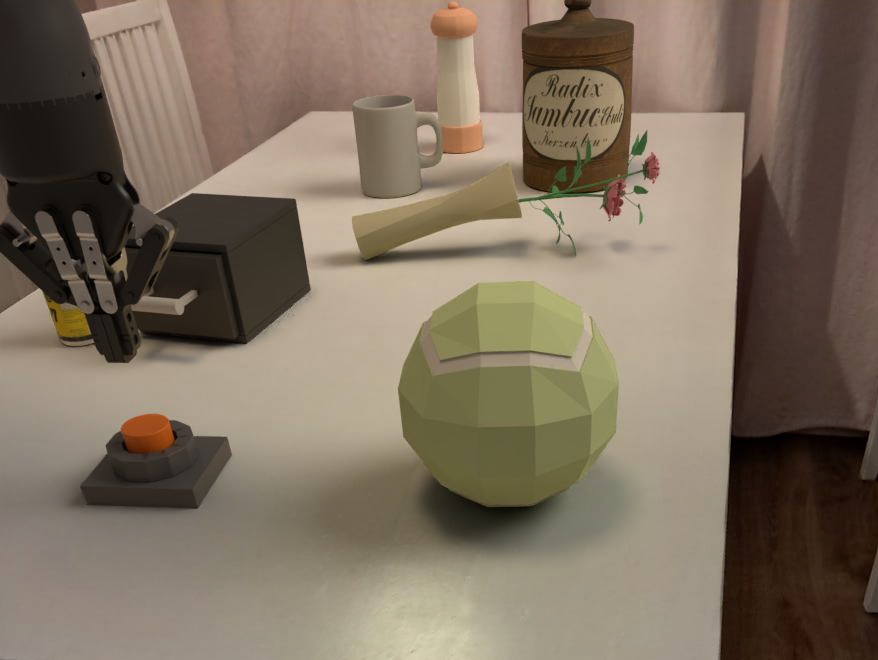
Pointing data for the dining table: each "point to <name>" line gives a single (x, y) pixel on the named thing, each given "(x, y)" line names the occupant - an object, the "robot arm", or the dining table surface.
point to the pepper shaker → (457, 79)
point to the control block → (158, 472)
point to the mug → (392, 145)
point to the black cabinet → (245, 253)
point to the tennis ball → (509, 394)
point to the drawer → (187, 296)
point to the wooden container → (576, 98)
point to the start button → (147, 433)
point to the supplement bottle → (69, 323)
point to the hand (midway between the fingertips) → (123, 358)
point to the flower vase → (485, 205)
